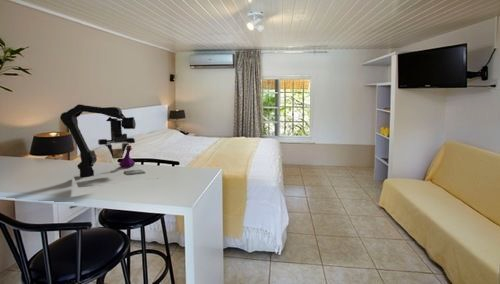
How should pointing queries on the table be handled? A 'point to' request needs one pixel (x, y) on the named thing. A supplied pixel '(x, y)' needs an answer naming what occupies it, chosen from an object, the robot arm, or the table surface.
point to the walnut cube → (117, 153)
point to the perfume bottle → (127, 159)
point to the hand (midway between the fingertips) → (117, 156)
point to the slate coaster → (134, 172)
